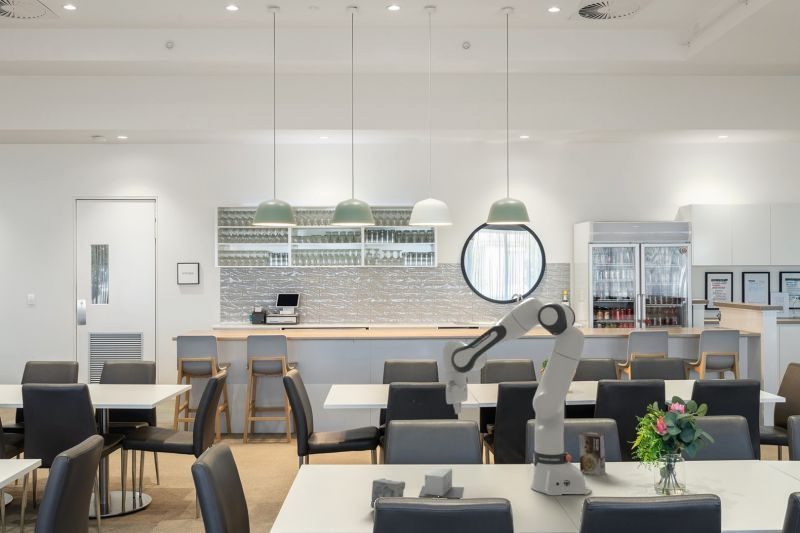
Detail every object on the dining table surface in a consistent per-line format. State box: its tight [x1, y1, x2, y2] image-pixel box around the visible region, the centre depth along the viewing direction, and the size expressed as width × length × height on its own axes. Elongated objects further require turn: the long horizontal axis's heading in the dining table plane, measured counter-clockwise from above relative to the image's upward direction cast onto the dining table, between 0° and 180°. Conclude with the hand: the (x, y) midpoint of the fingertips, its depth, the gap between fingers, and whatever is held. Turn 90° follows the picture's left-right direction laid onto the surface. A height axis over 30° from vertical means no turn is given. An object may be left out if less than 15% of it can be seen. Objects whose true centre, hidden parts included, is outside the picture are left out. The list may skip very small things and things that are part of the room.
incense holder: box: [370, 477, 406, 509], centre depth 250 cm, size 10×8×10 cm
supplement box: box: [424, 466, 453, 496], centre depth 270 cm, size 7×7×13 cm
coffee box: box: [578, 431, 606, 476], centre depth 295 cm, size 9×6×16 cm
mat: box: [418, 485, 464, 499], centre depth 269 cm, size 16×13×1 cm
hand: (458, 413), depth 292 cm, fingers closed
